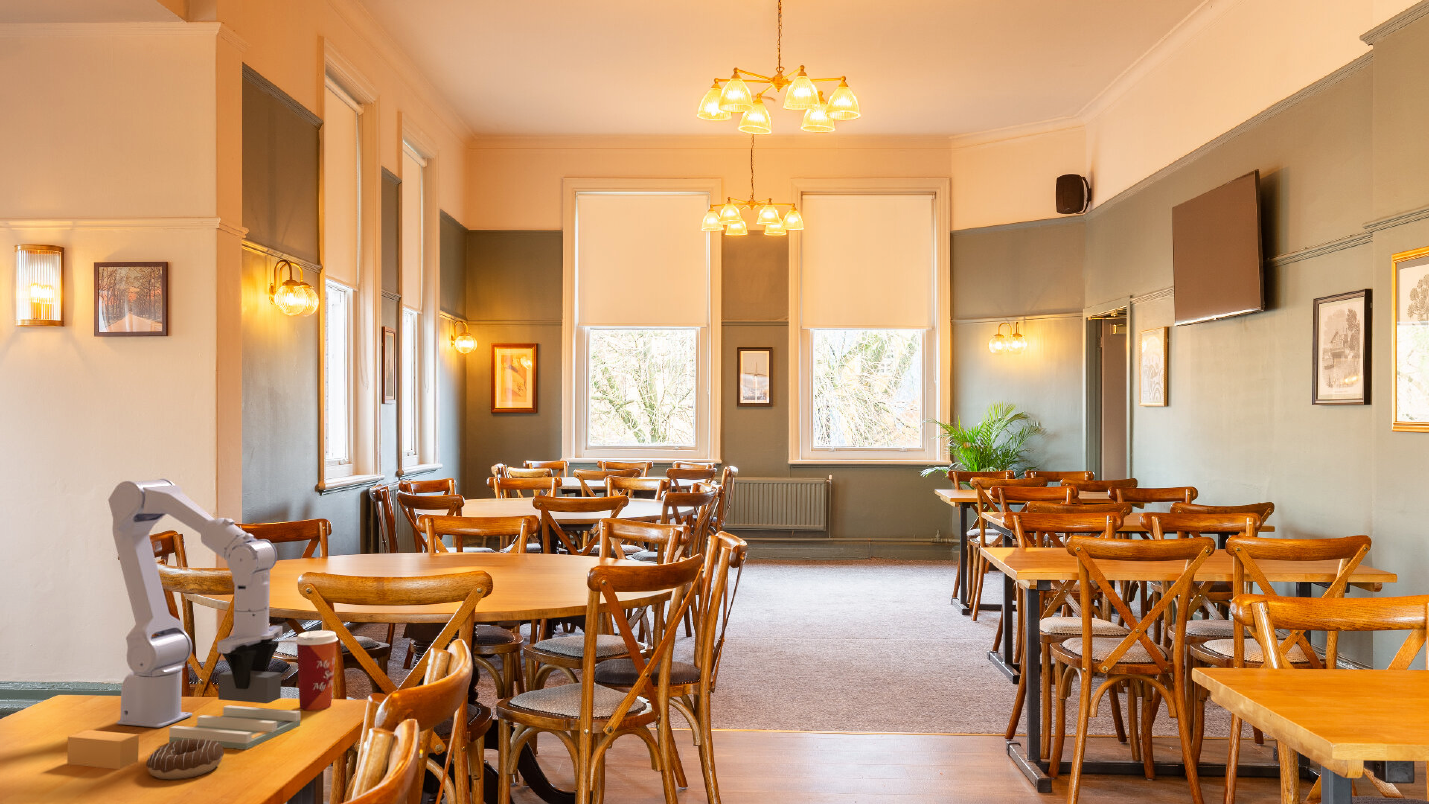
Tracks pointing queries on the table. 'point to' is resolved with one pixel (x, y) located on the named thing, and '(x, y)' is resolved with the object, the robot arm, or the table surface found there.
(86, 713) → the table surface
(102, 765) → the wooden block
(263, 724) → the comb board
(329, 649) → the paper cup
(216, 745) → the donut
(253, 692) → the dark grey block
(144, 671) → the robot arm
